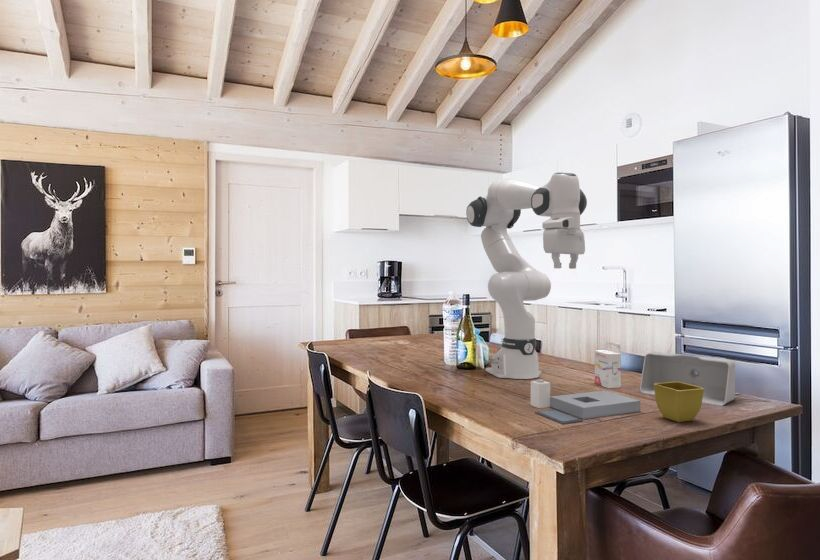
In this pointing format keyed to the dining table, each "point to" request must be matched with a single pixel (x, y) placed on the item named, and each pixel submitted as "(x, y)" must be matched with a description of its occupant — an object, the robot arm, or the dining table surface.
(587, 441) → the dining table surface
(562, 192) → the robot arm
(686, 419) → the flower pot
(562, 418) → the phone slab
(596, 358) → the ink cartridge box
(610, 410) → the outlet board
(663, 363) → the tank
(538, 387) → the block
